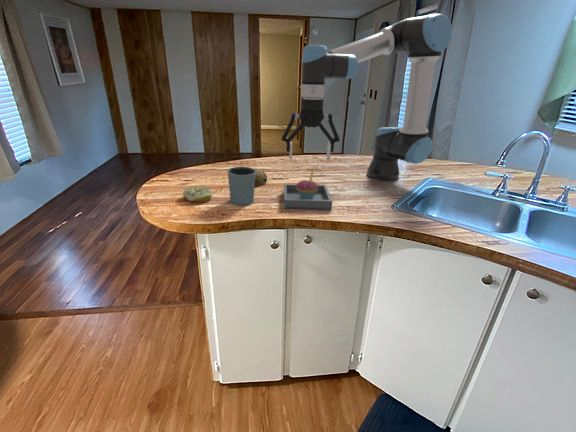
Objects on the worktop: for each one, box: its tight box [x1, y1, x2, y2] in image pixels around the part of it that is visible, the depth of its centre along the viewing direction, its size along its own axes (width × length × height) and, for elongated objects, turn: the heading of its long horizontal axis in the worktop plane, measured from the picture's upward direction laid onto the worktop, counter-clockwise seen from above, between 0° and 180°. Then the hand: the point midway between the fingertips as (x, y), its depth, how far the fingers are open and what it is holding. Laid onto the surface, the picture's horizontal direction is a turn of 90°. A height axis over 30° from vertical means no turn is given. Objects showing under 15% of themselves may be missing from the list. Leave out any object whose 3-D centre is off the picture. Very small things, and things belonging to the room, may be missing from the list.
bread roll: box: [254, 168, 268, 187], centre depth 135 cm, size 10×10×8 cm
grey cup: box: [227, 166, 256, 207], centre depth 113 cm, size 10×10×12 cm
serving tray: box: [283, 183, 333, 211], centre depth 117 cm, size 17×17×4 cm
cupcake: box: [296, 169, 319, 200], centre depth 115 cm, size 9×8×12 cm
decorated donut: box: [182, 185, 213, 204], centre depth 116 cm, size 10×11×4 cm
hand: (309, 160), depth 112 cm, fingers open, 13 cm apart
